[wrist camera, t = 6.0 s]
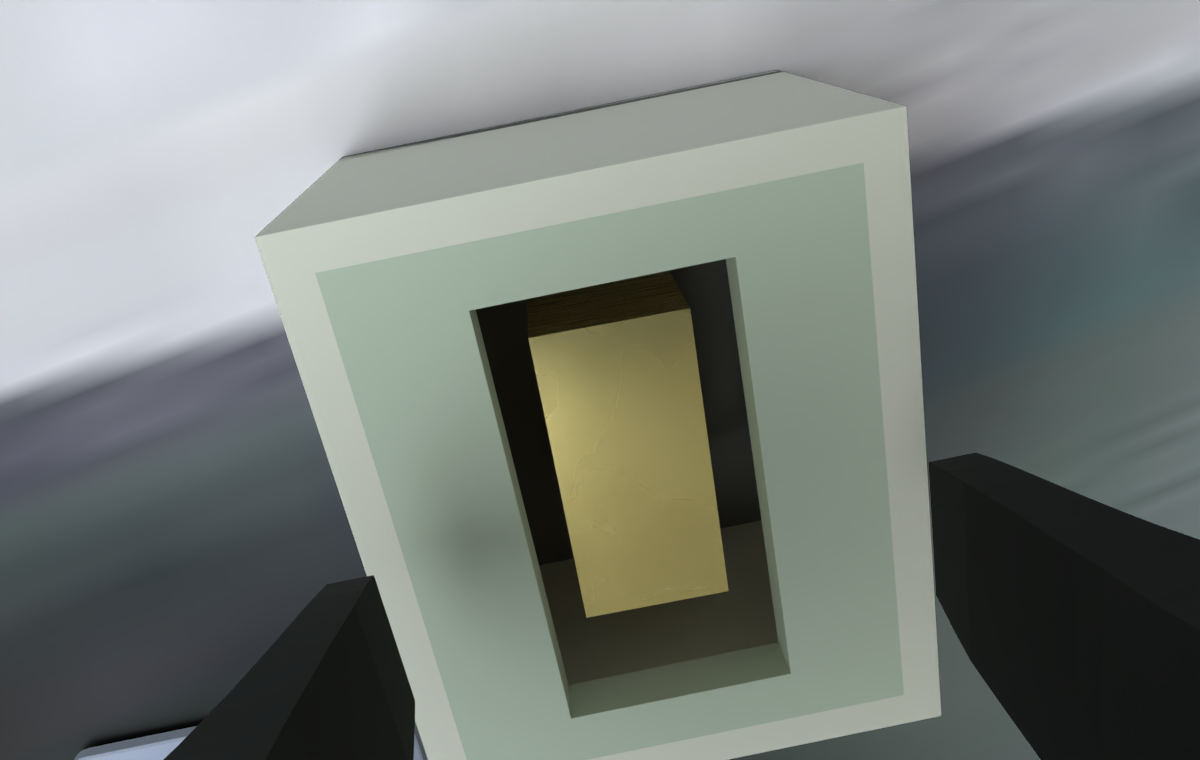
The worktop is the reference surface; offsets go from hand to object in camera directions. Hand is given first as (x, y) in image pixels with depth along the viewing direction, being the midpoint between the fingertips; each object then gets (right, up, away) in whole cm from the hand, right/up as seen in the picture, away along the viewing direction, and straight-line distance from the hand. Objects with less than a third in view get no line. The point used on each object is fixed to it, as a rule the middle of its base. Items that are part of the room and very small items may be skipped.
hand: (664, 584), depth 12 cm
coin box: (-1, +3, +8) cm, 8 cm away
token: (-1, +3, +7) cm, 8 cm away
